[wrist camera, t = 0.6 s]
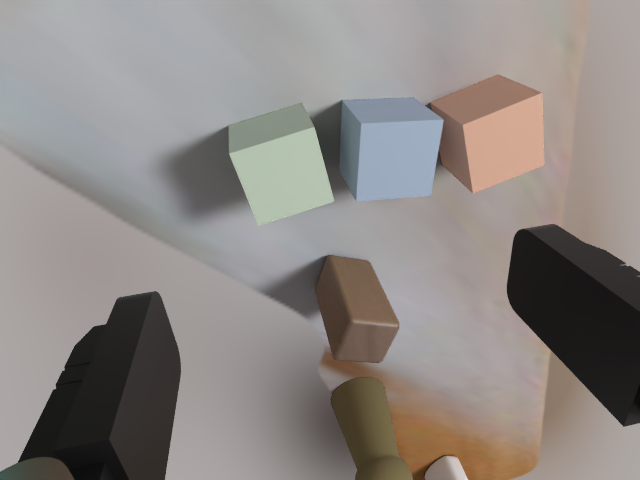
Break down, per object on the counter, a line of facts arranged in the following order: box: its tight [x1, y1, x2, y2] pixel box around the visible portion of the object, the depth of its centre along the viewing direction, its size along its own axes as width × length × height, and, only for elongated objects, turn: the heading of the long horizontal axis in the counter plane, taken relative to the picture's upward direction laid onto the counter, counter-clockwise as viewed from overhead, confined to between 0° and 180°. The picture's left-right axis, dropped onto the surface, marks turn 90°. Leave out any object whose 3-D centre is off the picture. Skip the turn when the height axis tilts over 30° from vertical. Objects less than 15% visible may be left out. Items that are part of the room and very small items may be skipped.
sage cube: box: [229, 103, 335, 226], centre depth 27 cm, size 5×5×5 cm
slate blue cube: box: [339, 97, 444, 202], centre depth 28 cm, size 5×5×5 cm
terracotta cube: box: [430, 75, 544, 193], centre depth 29 cm, size 5×5×5 cm
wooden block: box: [315, 255, 399, 363], centre depth 33 cm, size 4×4×8 cm
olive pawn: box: [331, 377, 413, 480], centre depth 41 cm, size 6×6×11 cm
